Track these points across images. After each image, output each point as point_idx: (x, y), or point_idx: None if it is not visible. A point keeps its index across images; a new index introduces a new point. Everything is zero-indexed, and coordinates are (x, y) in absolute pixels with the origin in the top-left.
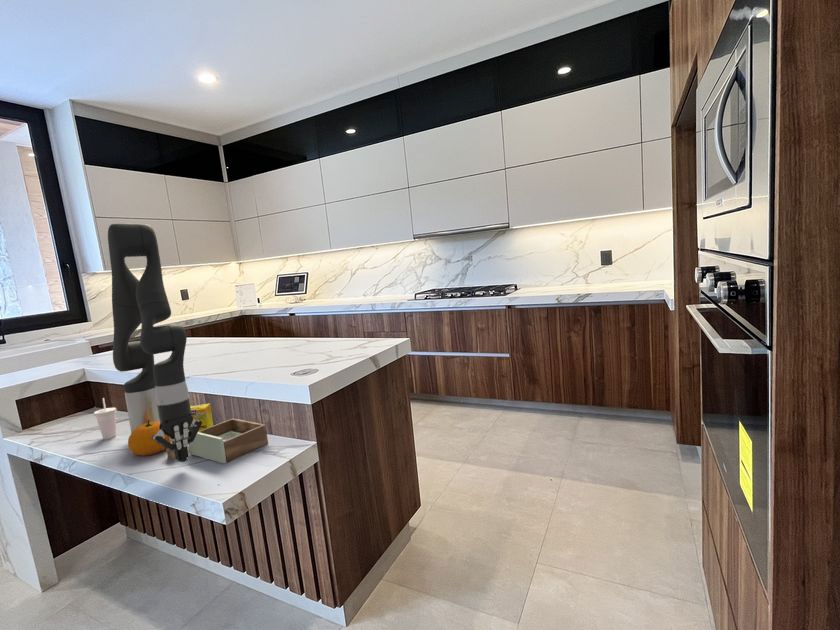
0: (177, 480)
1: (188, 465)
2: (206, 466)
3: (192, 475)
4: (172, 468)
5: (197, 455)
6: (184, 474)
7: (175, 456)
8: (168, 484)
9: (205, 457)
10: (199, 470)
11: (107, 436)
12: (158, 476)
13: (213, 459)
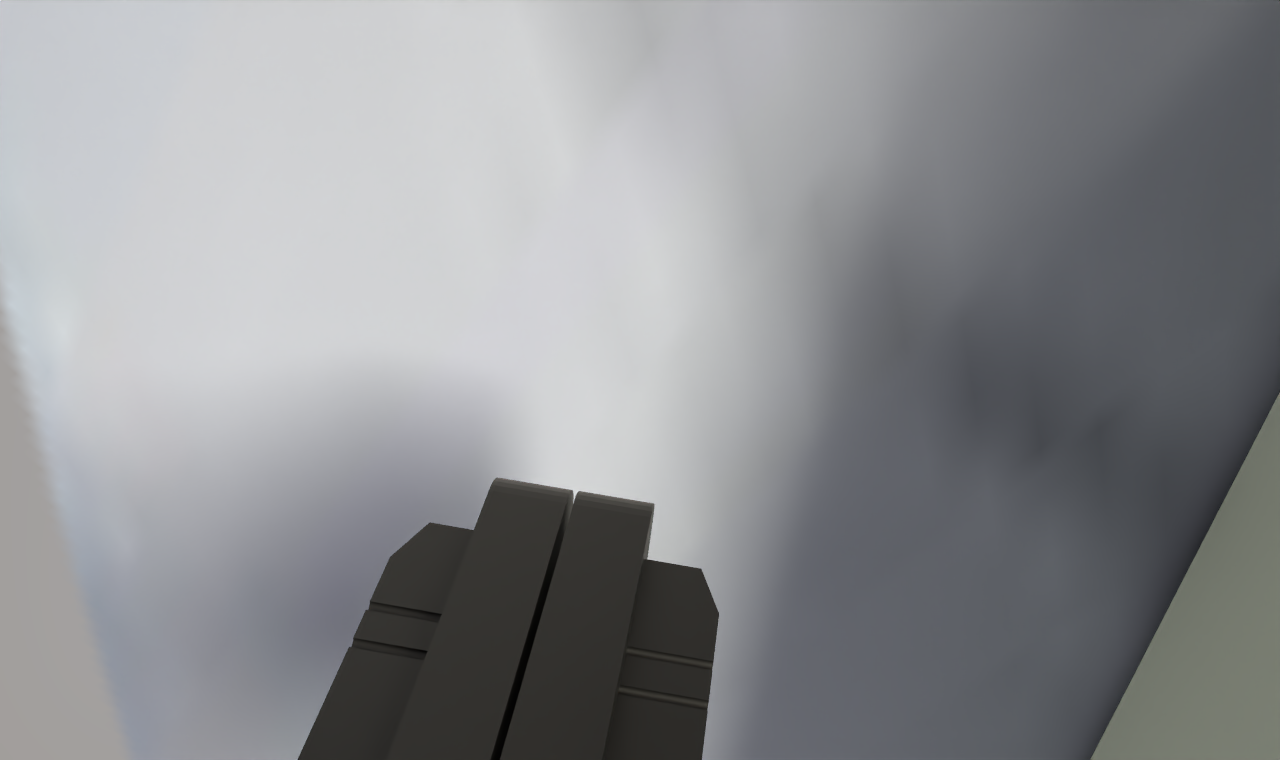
0: (272, 627)
1: (826, 317)
2: (869, 717)
3: None
4: (564, 20)
5: None
6: None
7: (364, 632)
8: (114, 593)
9: (1239, 494)
10: None
11: None
12: (134, 77)
13: (1108, 752)
